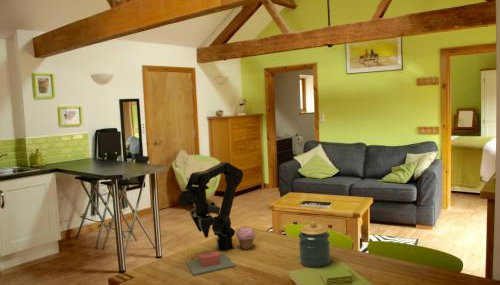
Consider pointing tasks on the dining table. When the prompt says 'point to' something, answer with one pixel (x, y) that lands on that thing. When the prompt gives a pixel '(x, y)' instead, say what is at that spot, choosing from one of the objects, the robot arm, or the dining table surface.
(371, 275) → the dining table surface
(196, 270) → the mat
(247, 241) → the cupcake
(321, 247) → the canister
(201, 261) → the red block
